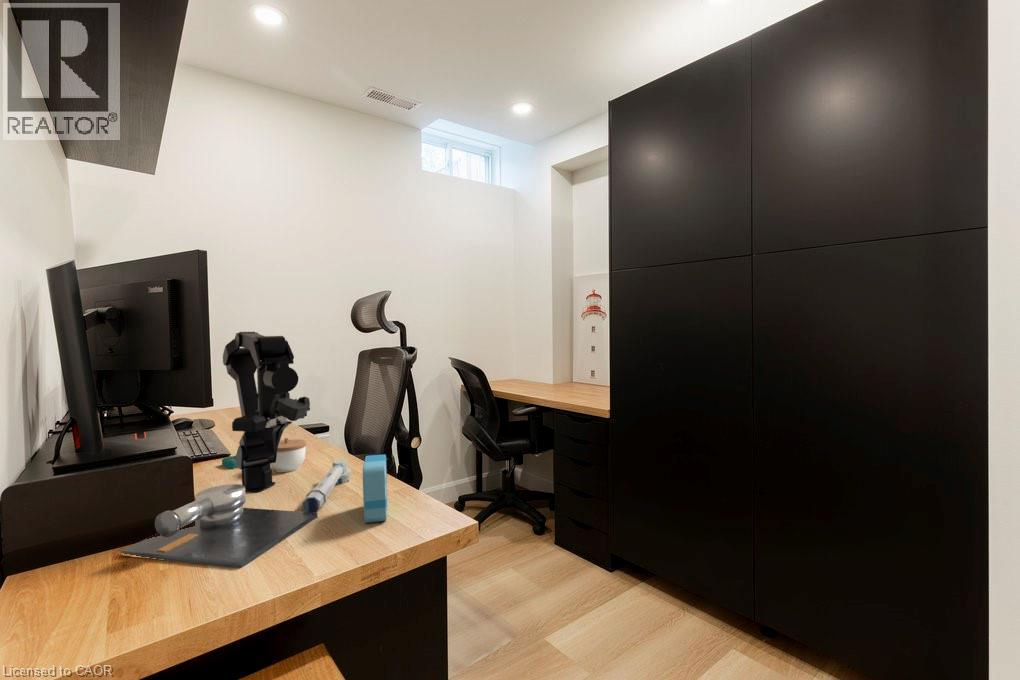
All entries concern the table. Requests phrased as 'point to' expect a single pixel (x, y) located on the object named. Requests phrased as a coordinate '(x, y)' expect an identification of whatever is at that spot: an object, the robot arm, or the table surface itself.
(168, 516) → the dryer elbow
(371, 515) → the data package
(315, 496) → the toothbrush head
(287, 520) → the cutting board
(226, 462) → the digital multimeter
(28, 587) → the table surface
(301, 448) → the lidded jar
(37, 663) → the table surface
